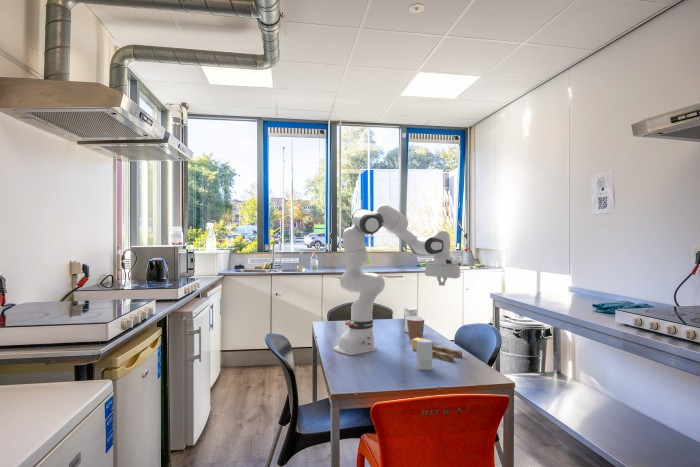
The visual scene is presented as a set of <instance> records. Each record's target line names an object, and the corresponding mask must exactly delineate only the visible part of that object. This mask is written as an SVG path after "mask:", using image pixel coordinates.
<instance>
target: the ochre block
mask: <svg viewBox="0 0 700 467" xmlns="http://www.w3.org/2000/svg"><path fill="white" fill-rule="evenodd" d="M417 340H427V339H426V338H423V337H422V338H415V339H412V341H411V350H414V351H417Z"/></svg>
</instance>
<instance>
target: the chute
mask: <svg viewBox="0 0 700 467" xmlns="http://www.w3.org/2000/svg"><path fill="white" fill-rule="evenodd" d="M432 358H435V359H439V360H443V361H446V362H449V363H452V362H454V361H455V358H459V359H460V358H463V351H462V350H457V349H454V348H449V347H444V346H440V345H436V344H434V343H433V342H432Z"/></svg>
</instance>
